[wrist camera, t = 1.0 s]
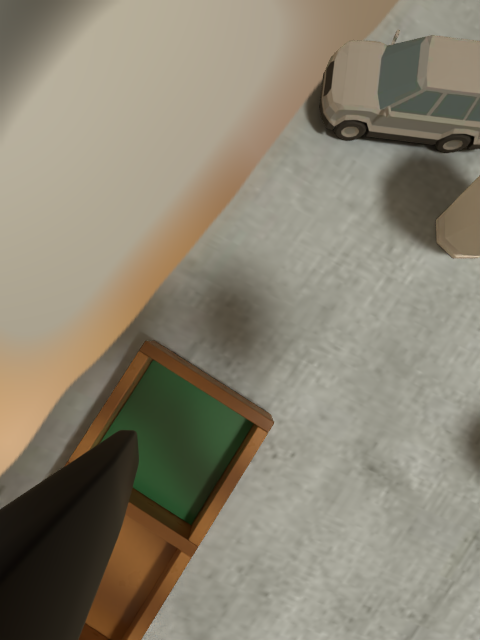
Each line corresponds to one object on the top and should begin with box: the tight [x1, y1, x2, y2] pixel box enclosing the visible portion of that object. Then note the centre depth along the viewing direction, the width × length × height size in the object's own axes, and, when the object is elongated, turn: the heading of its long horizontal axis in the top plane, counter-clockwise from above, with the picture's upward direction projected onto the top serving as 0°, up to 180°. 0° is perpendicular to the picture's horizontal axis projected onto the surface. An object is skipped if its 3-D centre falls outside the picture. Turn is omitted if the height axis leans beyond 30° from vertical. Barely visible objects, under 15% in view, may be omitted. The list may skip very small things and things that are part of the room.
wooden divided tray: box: [64, 340, 274, 640], centre depth 23 cm, size 19×10×2 cm, turn 148°
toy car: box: [320, 30, 480, 153], centre depth 23 cm, size 6×13×5 cm, turn 83°
